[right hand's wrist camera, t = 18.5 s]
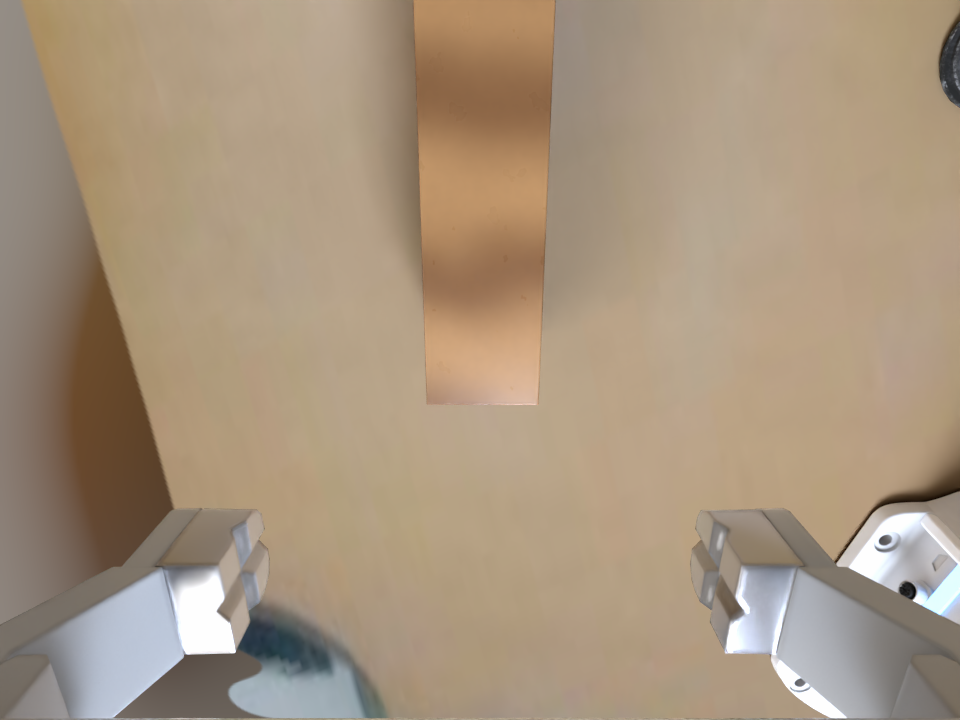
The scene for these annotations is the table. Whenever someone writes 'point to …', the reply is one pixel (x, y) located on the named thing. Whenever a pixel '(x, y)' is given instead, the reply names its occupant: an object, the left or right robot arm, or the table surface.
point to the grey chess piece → (951, 66)
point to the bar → (483, 194)
